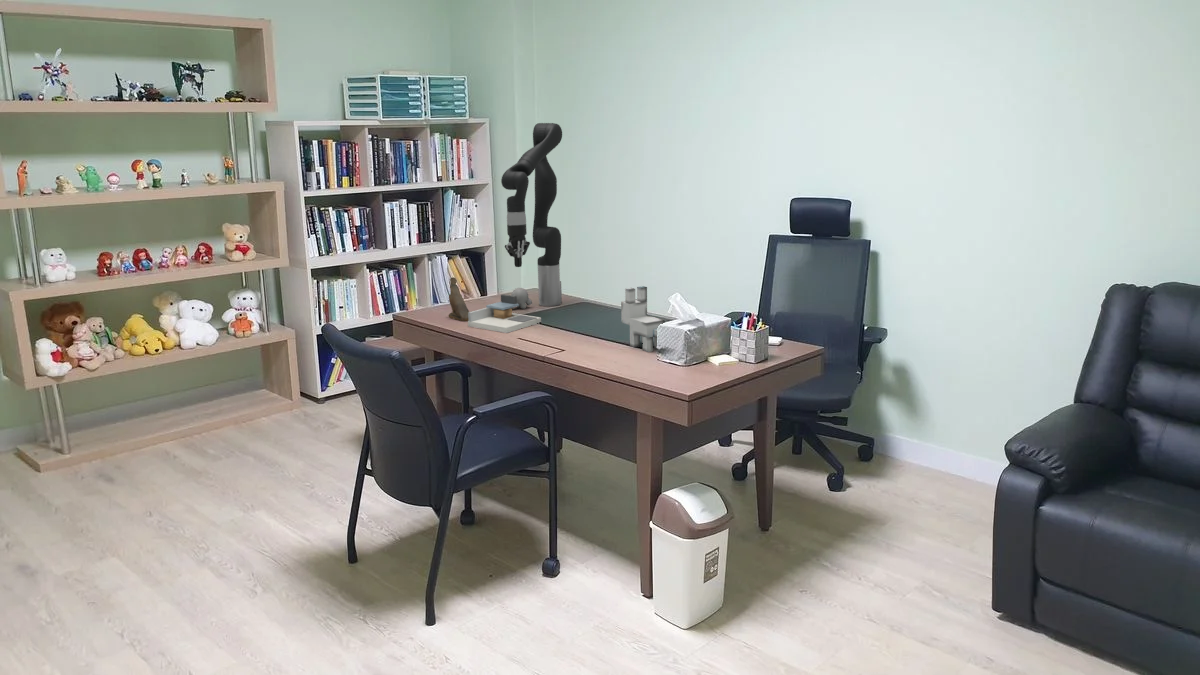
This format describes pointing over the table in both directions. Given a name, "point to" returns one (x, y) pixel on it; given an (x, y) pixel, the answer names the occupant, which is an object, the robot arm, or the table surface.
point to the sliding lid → (505, 302)
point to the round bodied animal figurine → (522, 297)
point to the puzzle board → (500, 321)
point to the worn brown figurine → (457, 303)
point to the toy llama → (639, 319)
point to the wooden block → (503, 313)
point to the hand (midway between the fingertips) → (518, 266)
